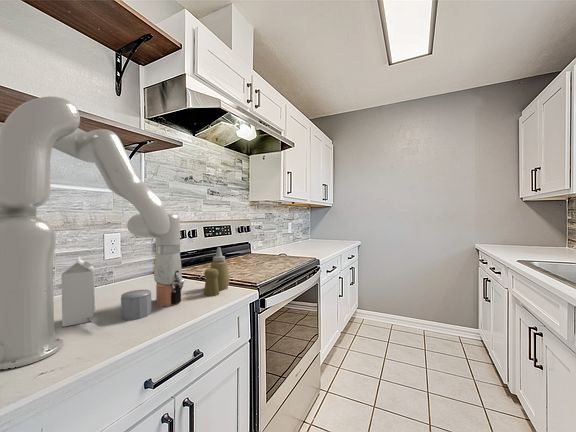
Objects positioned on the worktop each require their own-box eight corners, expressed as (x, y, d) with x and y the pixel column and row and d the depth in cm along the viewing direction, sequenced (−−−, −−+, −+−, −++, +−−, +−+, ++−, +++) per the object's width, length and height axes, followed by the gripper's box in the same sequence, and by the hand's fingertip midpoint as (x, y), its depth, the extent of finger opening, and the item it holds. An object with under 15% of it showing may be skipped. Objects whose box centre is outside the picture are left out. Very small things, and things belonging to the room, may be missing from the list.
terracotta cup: (164, 312, 86) (164, 287, 86) (152, 307, 91) (151, 284, 90) (185, 305, 92) (185, 282, 92) (173, 301, 97) (173, 279, 97)
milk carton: (62, 327, 75) (60, 260, 75) (66, 319, 81) (65, 257, 81) (93, 321, 79) (92, 257, 79) (95, 314, 85) (94, 254, 85)
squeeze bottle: (205, 291, 108) (205, 247, 108) (223, 287, 114) (223, 245, 113) (214, 296, 102) (214, 249, 102) (233, 291, 108) (232, 247, 107)
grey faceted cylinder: (129, 327, 75) (128, 299, 74) (117, 321, 79) (116, 294, 79) (156, 318, 81) (155, 292, 81) (143, 313, 85) (143, 288, 85)
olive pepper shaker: (199, 299, 99) (199, 269, 98) (211, 294, 104) (211, 266, 104) (212, 301, 96) (211, 271, 96) (223, 297, 101) (223, 268, 101)
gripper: (144, 249, 93) (145, 299, 93) (172, 253, 83) (173, 309, 83) (165, 247, 99) (165, 294, 100) (193, 250, 89) (193, 302, 89)
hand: (169, 300), depth 91 cm, fingers closed on terracotta cup, 7 cm apart
